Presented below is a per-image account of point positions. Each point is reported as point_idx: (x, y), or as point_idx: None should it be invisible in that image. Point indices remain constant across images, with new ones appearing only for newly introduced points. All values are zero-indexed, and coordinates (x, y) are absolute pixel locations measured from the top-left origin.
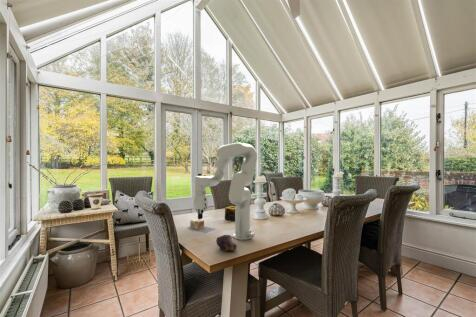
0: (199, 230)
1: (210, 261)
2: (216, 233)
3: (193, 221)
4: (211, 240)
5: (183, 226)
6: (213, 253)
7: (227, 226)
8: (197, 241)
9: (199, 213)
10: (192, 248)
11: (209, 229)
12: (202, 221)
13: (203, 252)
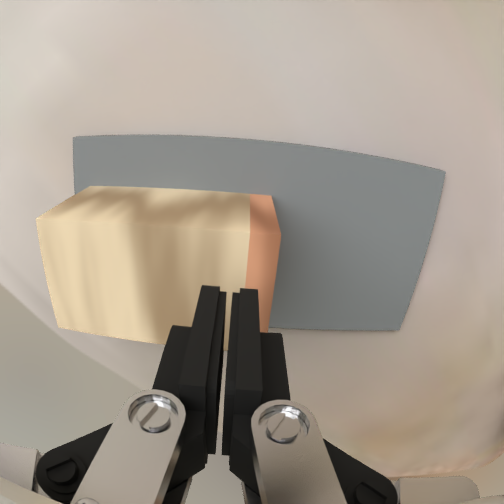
0: (294, 317)
1: (485, 462)
2: (482, 275)
3: (126, 331)
4: (472, 389)
5: (24, 274)
6: (491, 441)
7: (482, 9)
8: (398, 438)
9: (210, 441)
10: (406, 471)
11: (387, 228)
12: (274, 278)
13: (458, 459)
